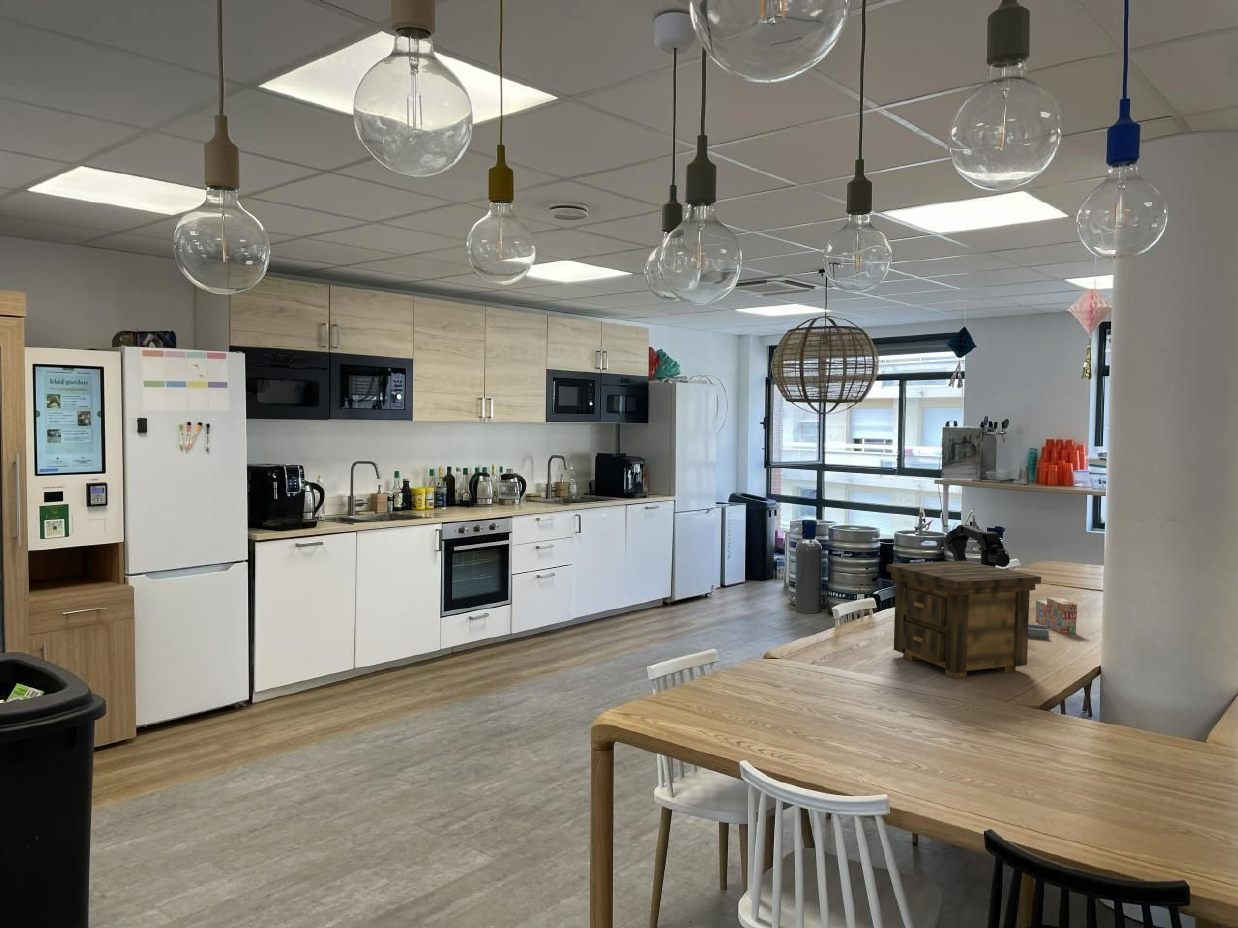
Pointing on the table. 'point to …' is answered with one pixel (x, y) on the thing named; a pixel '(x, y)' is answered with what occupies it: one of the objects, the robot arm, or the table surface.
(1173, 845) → the table surface
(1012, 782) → the table surface
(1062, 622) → the stack of blocks
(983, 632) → the wooden nightstand
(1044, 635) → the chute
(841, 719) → the table surface
